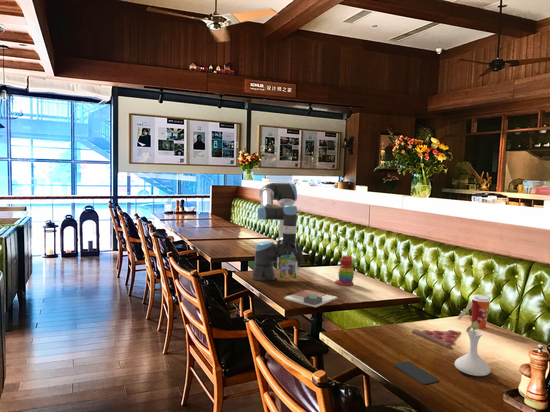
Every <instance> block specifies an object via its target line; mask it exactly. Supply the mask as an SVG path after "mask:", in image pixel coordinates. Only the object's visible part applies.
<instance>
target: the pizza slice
mask: <svg viewBox="0 0 550 412" xmlns="http://www.w3.org/2000/svg"><path fill="white" fill-rule="evenodd" d="M411 333H412V334H414V335H416V336H418V337H421V338H423V339H425V340H428V341H429V342H431V343H434V344H436V345H438V346H441V347H442V348H443V347H444V348H446V349H450V348H451V347H452V346H451V345H453V344H454V342H455V341H456V340H457V339H458V337H459V336H460V335H461V333H462V332H461V331H460V330H459V331H458V330H457V331H456V330H452V329H449V330H447V331H446V330H445V331H443V330H441V331H440V330H432V331H431V330H427V329H423V330H422V331H421V330H419V329H416V328H414V329H412V332H411Z"/></svg>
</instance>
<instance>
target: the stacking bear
mask: <svg viewBox="0 0 550 412" xmlns="http://www.w3.org/2000/svg"><path fill="white" fill-rule="evenodd" d="M340 263H341V265H340V267H339V269H338V271H337V272H338V273H337V274H338V279H337V280H335V281H334V283H335V284H336V285H338V286H342V287H352V286H354V277H355V276H354V275H355V272H354V268H353V266H352V263H353V259H352V255H343V256H342V257H341V258H340Z"/></svg>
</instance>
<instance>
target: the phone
mask: <svg viewBox="0 0 550 412" xmlns="http://www.w3.org/2000/svg"><path fill="white" fill-rule="evenodd" d="M393 368H396V369H397V370H398V371H400V372H402V373H403V374H404V375H406V376H408V377H410V378H412V379H413V380H415V381H416V382H417V383H420V384H422V385H424V386H427V385H432V384H435V383H439V382H440V379H439V378H438V377H436V376H434V375H432V374H431V373H429V372H428V371H426V370H425V369H423V368H421V367H420V366H418V365H416V364H414V363H412V362H411V361H406V360H405V361H401V362H397V363H393Z"/></svg>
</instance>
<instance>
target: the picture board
mask: <svg viewBox="0 0 550 412" xmlns="http://www.w3.org/2000/svg"><path fill="white" fill-rule="evenodd" d="M309 294H316V295H317V299H315V300H314V299H310V298H309ZM283 299H284V300H286V301H289V302H294V303H298V304H301V305H305V306H307V307H308V306H309V307H311V308H312V307H313V308H318V307H320V306H322V305H323V306H324V305H325V304H328V303H330V302H333V301H335V300H337V299H338V296H335V295H331V294H326V293H322V292H318V291H314V290H310V289H305V290H301V291H299V292H296V293H293V294H289V295H286V296H284V297H283ZM332 300H333V301H332Z"/></svg>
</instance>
